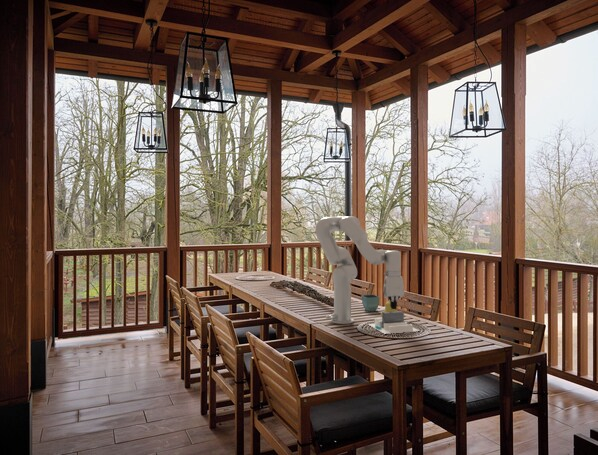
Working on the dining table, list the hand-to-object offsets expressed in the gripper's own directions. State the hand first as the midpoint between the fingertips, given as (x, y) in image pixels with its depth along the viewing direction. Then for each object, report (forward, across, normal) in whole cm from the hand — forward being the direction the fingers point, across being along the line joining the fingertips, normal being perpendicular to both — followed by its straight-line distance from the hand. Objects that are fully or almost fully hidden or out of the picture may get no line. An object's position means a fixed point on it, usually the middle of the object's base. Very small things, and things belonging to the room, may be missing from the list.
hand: (393, 308), depth 246 cm
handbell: (+11, +14, +30) cm, 35 cm away
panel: (+10, 0, 0) cm, 10 cm away
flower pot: (+11, +7, +44) cm, 46 cm away
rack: (+11, 0, 0) cm, 11 cm away
